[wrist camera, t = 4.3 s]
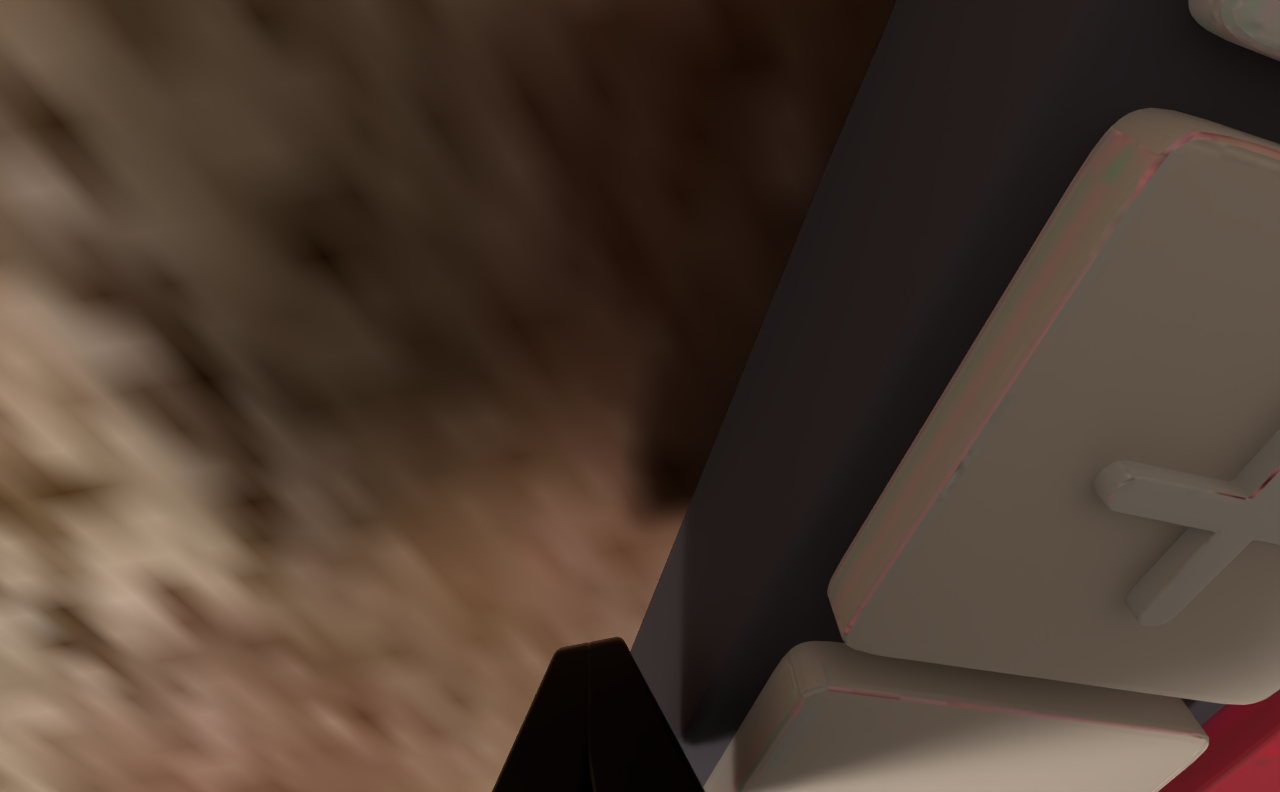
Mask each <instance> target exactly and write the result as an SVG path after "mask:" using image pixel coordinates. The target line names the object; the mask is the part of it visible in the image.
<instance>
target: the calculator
mask: <svg viewBox="0 0 1280 792" xmlns="http://www.w3.org/2000/svg"><path fill="white" fill-rule="evenodd" d="M630 653H631V654H632V656H633V658H634V660H635V662H636V664H637V666H638V668H639V669H640V671H641V673H642V675H643V677H644V679H645V681H646V682H647V684H648V686H649V688H650V690H651V692H652V694H653V695H654V697H655V699H656V701H657V703H658V705H659V707H660V708H661V710H662V712H663V714H664V716H665V718H666V720H667V721H668V723H669V725H670V727H671V729H672V731H673V733H674V734H675V736H676V738H677V740H678V742H679V744H680V746H681V747H682V749H683V751H684V753H685V755H686V757H687V759H688V761H689V762H690V764H691V766H692V768H693V770H694V772H695V774H696V775H697V777H698V779H699V781H700V783H701V785H702V787H703V788H704V790H705V792H1280V0H896V1H895V5H894V7H893V10H892V12H891V15H890V17H889V20H888V22H887V25H886V28H885V30H884V32H883V35H882V37H881V39H880V42H879V44H878V46H877V49H876V51H875V53H874V56H873V58H872V60H871V63H870V65H869V67H868V70H867V72H866V74H865V77H864V79H863V82H862V84H861V86H860V89H859V91H858V93H857V96H856V98H855V100H854V103H853V105H852V107H851V110H850V112H849V114H848V117H847V119H846V121H845V124H844V126H843V128H842V131H841V133H840V136H839V138H838V140H837V143H836V145H835V147H834V150H833V152H832V155H831V157H830V159H829V162H828V164H827V167H826V169H825V171H824V174H823V176H822V179H821V181H820V183H819V186H818V188H817V191H816V193H815V196H814V198H813V201H812V203H811V206H810V208H809V211H808V213H807V215H806V218H805V220H804V223H803V225H802V228H801V230H800V233H799V235H798V238H797V240H796V243H795V245H794V247H793V250H792V252H791V255H790V257H789V260H788V262H787V265H786V267H785V270H784V272H783V274H782V277H781V279H780V282H779V284H778V287H777V289H776V292H775V294H774V297H773V299H772V302H771V304H770V306H769V309H768V311H767V314H766V316H765V319H764V321H763V324H762V326H761V329H760V331H759V334H758V336H757V338H756V341H755V343H754V346H753V348H752V351H751V353H750V356H749V358H748V361H747V363H746V366H745V368H744V371H743V373H742V376H741V378H740V381H739V383H738V386H737V388H736V390H735V393H734V395H733V398H732V400H731V403H730V405H729V408H728V410H727V413H726V415H725V418H724V420H723V423H722V425H721V428H720V430H719V433H718V435H717V438H716V440H715V443H714V445H713V448H712V450H711V453H710V455H709V457H708V460H707V462H706V465H705V467H704V470H703V472H702V475H701V477H700V480H699V482H698V485H697V487H696V490H695V492H694V495H693V497H692V500H691V502H690V505H689V507H688V510H687V512H686V515H685V517H684V520H683V522H682V525H681V527H680V530H679V532H678V535H677V537H676V539H675V542H674V544H673V547H672V549H671V552H670V554H669V557H668V559H667V562H666V564H665V567H664V569H663V572H662V574H661V577H660V579H659V582H658V584H657V587H656V589H655V592H654V594H653V597H652V599H651V602H650V604H649V607H648V609H647V612H646V614H645V617H644V619H643V621H642V624H641V626H640V629H639V631H638V634H637V636H636V639H635V641H634V644H633V646H632V649H631V651H630Z"/></svg>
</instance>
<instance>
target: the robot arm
mask: <svg viewBox="0 0 1280 792" xmlns="http://www.w3.org/2000/svg"><path fill="white" fill-rule="evenodd" d="M492 792H705V790H704V788H703V787H702V785H701V783H700V781H699V779H698V777H697V775H696V774H695V772H694V770H693V768H692V766H691V764H690V762H689V761H688V759H687V757H686V755H685V753H684V751H683V749H682V747H681V746H680V744H679V742H678V740H677V738H676V736H675V734H674V733H673V731H672V729H671V727H670V725H669V723H668V721H667V720H666V718H665V716H664V714H663V712H662V710H661V708H660V707H659V705H658V703H657V701H656V699H655V697H654V695H653V694H652V692H651V690H650V688H649V686H648V684H647V682H646V681H645V679H644V677H643V675H642V673H641V671H640V669H639V668H638V666H637V664H636V662H635V660H634V658H633V656H632V654H631V653H630V651H629V649H628V647H627V645H626V643H625V642H624V640H623V639H622V638H620V637H614V638H609V639H603V640H598V641H593V642H590V643H583V644H578V645H572V646H567V647H563V648H560V649H558V650H557V651H556V652H555V654H554V656H553V658H552V660H551V662H550V664H549V666H548V669H547V671H546V673H545V675H544V677H543V680H542V682H541V684H540V686H539V688H538V691H537V693H536V695H535V697H534V700H533V702H532V704H531V706H530V708H529V711H528V713H527V715H526V717H525V720H524V722H523V724H522V726H521V728H520V731H519V733H518V735H517V737H516V739H515V742H514V744H513V746H512V748H511V751H510V753H509V755H508V757H507V759H506V762H505V764H504V766H503V768H502V771H501V773H500V775H499V777H498V779H497V782H496V784H495V786H494V788H493V790H492Z"/></svg>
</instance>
